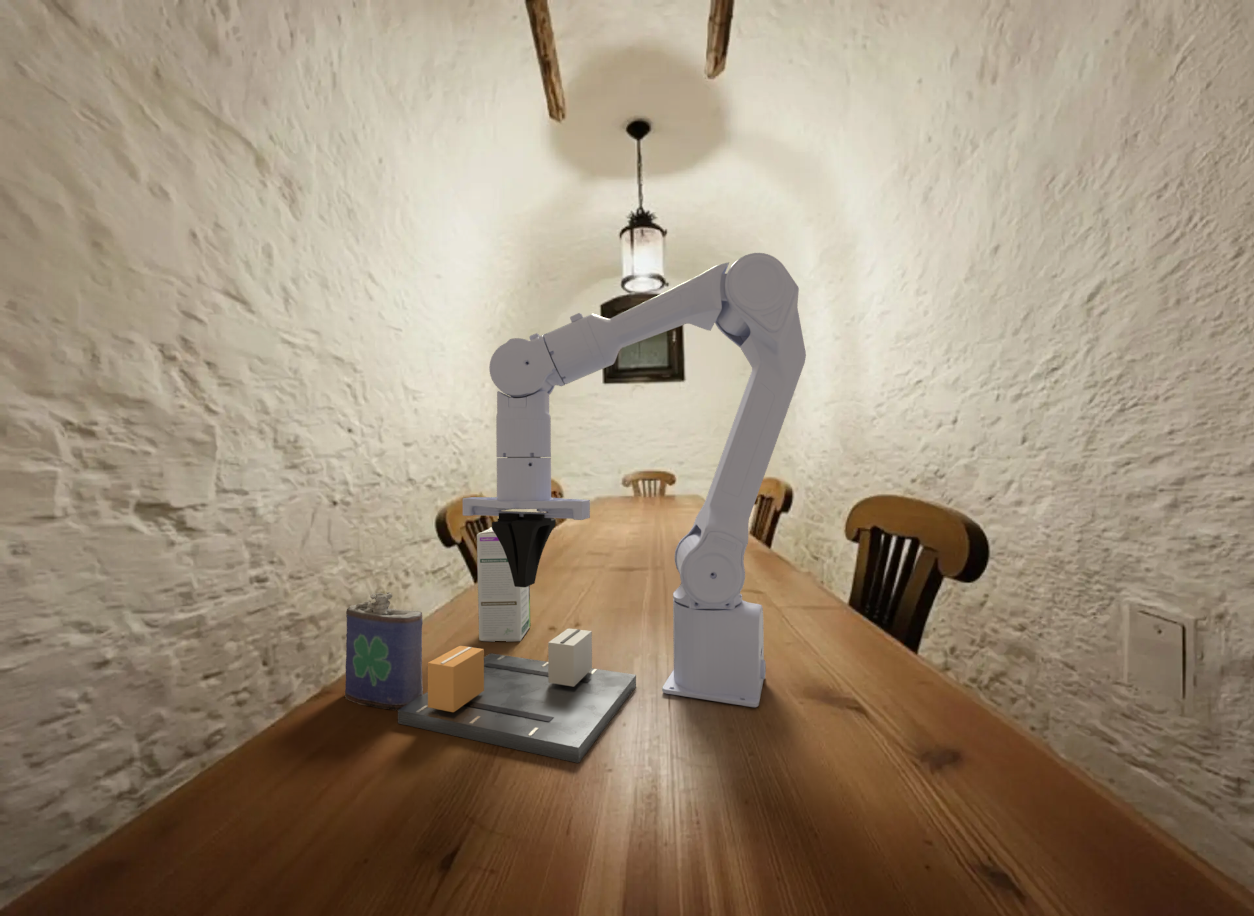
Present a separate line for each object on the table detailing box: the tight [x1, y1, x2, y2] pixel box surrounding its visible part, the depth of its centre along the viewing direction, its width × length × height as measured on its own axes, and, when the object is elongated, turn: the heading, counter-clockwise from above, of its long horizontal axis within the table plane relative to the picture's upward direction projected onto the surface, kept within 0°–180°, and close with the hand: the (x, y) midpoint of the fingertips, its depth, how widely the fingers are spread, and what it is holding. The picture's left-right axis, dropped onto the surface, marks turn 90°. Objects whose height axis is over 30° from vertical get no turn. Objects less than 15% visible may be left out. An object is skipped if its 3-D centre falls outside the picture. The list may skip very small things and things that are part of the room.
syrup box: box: [476, 526, 531, 642], centre depth 68 cm, size 6×6×14 cm
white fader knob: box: [547, 628, 593, 687], centre depth 51 cm, size 3×4×4 cm, turn 160°
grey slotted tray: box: [397, 653, 637, 764], centre depth 48 cm, size 18×14×1 cm
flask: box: [344, 591, 424, 712], centre depth 49 cm, size 9×3×11 cm, turn 68°
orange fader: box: [427, 645, 485, 712], centre depth 46 cm, size 3×4×4 cm, turn 160°
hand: (524, 585), depth 53 cm, fingers closed
